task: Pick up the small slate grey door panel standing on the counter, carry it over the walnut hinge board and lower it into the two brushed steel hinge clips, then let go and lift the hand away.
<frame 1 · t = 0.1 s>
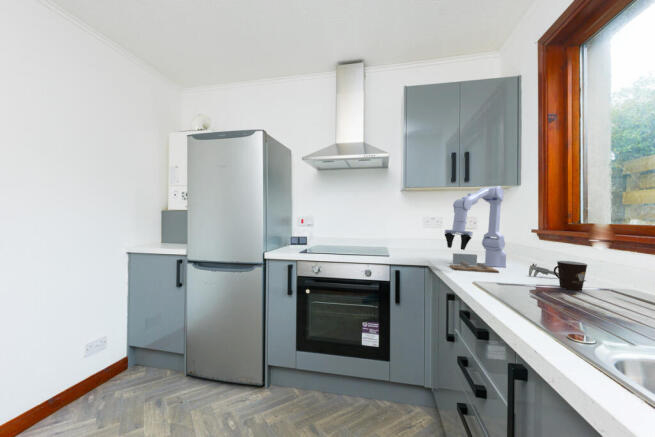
hand: (455, 248, 136), 11 cm above the worktop, tool pointing down, fingers open, 7 cm apart
caliper: (556, 279, 121), on the worktop
door panel: (464, 264, 151), on the worktop
hinge board: (473, 269, 137), on the worktop
coffee mug: (566, 288, 104), on the worktop
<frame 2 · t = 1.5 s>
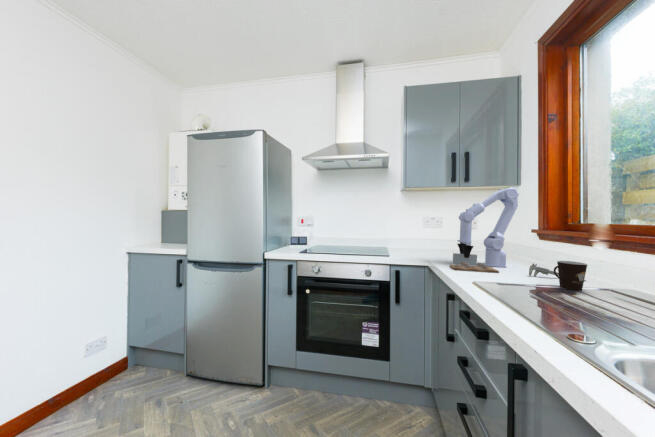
hand: (464, 256, 151), 4 cm above the worktop, tool pointing down, fingers open, 7 cm apart
nothing on the worktop moved.
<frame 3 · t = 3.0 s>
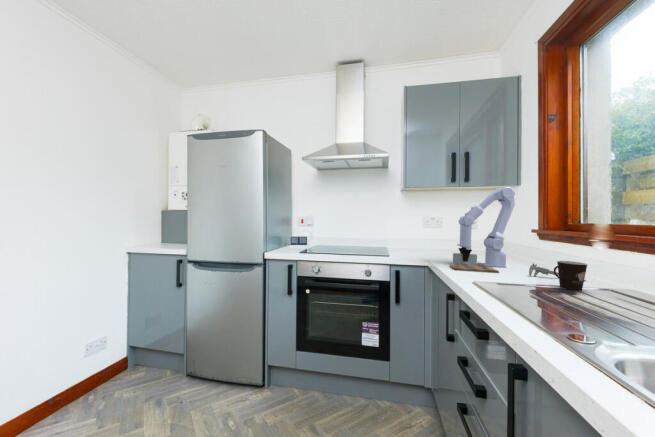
hand: (464, 261, 151), 2 cm above the worktop, tool pointing down, fingers closed on door panel, 2 cm apart
door panel: (464, 264, 151), on the worktop, touching gripper
everything else where it was.
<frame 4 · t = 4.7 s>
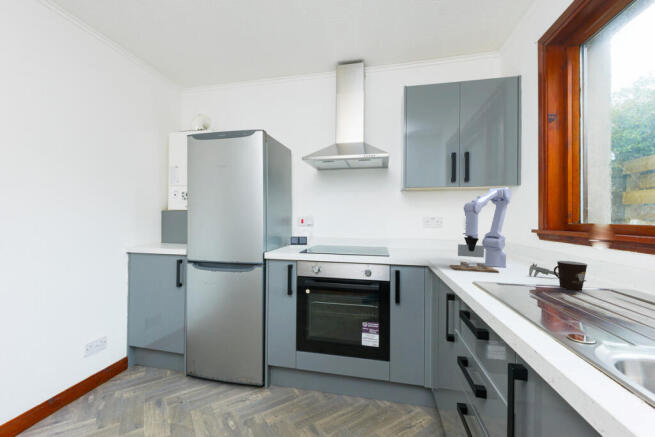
hand: (470, 250, 141), 9 cm above the worktop, tool pointing down, fingers closed on door panel
door panel: (470, 256, 141), point 6 cm above the worktop, touching gripper
everything else where it was.
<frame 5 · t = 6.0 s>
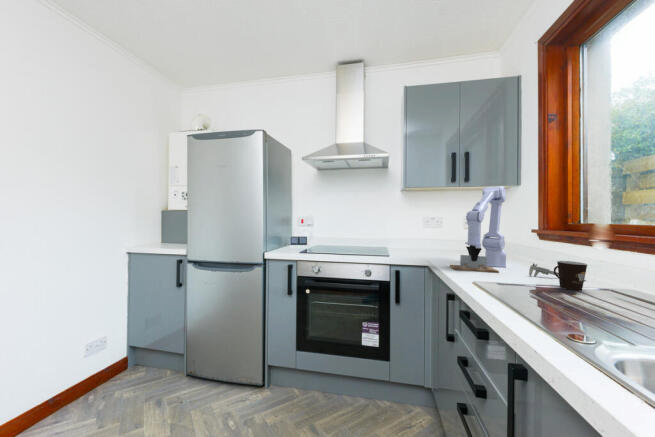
hand: (473, 260, 137), 4 cm above the worktop, tool pointing down, fingers closed on door panel, 2 cm apart
door panel: (473, 267, 137), point 1 cm above the worktop, touching gripper, hinge board
everything else where it was.
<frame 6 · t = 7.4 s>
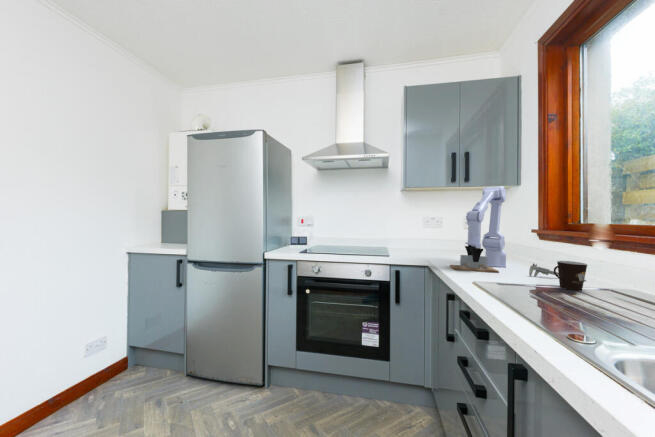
hand: (473, 260, 137), 4 cm above the worktop, tool pointing down, fingers open, 7 cm apart
door panel: (473, 267, 137), point 1 cm above the worktop, touching hinge board
everything else where it was.
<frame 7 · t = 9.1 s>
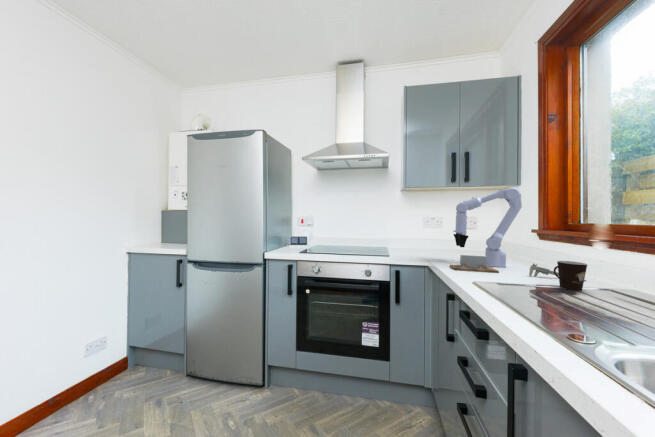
hand: (460, 246, 157), 9 cm above the worktop, tool pointing down, fingers open, 7 cm apart
nothing on the worktop moved.
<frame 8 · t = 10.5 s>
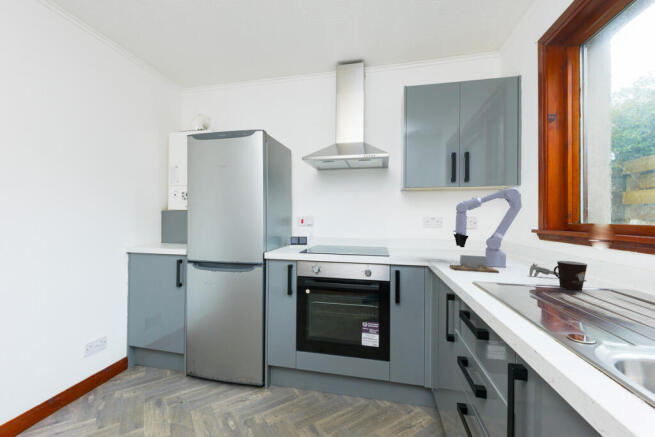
hand: (460, 246, 157), 9 cm above the worktop, tool pointing down, fingers open, 7 cm apart
nothing on the worktop moved.
at the end: door panel 0.1 cm off-centre on the hinge board, point 1.0 cm above the hinge board's base; door panel tilted 0°; the gripper is holding nothing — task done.
